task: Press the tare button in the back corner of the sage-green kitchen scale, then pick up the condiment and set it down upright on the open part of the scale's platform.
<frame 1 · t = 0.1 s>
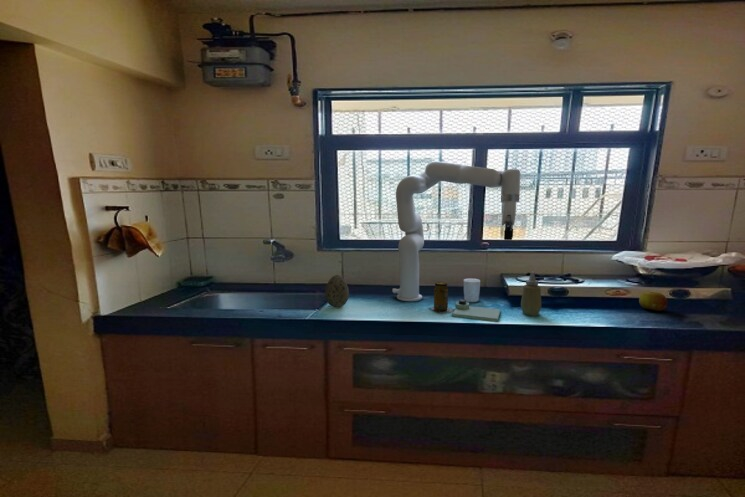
hand: (508, 238, 152), 31 cm above the countertop, tool pointing down, fingers open, 9 cm apart
tare button: (462, 302, 154), point 3 cm above the countertop, slide at 0.1 cm
condiment: (441, 310, 155), on the countertop
scale: (476, 314, 149), on the countertop
fruit: (652, 310, 151), on the countertop
squeeze bottle: (530, 314, 148), on the countertop
white cup: (471, 300, 169), on the countertop
decorative egg: (337, 307, 161), on the countertop
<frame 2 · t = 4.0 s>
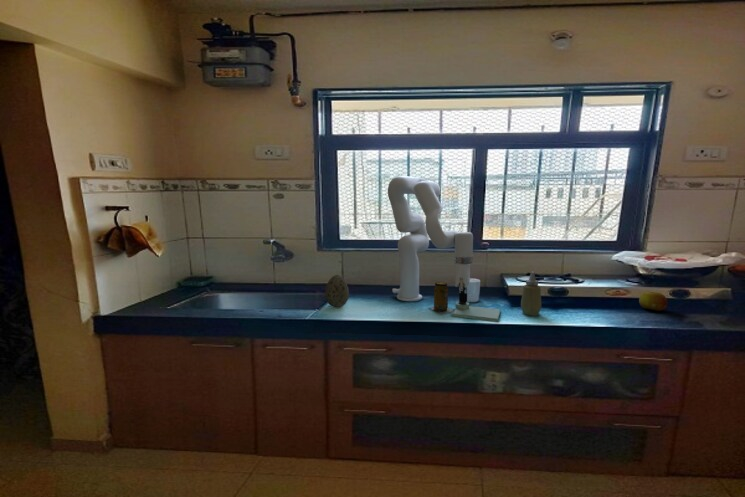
hand: (463, 301, 154), 4 cm above the countertop, tool pointing down, fingers closed
tare button: (462, 303, 154), point 3 cm above the countertop, slide at -0.4 cm, touching gripper
everything else where it was.
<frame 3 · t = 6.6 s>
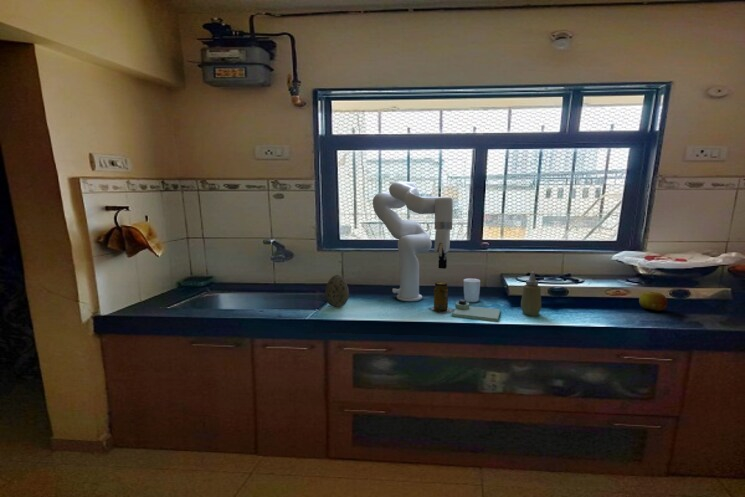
hand: (442, 268, 153), 19 cm above the countertop, tool pointing down, fingers closed
tare button: (462, 302, 154), point 3 cm above the countertop, slide at 0.1 cm
everything else where it was.
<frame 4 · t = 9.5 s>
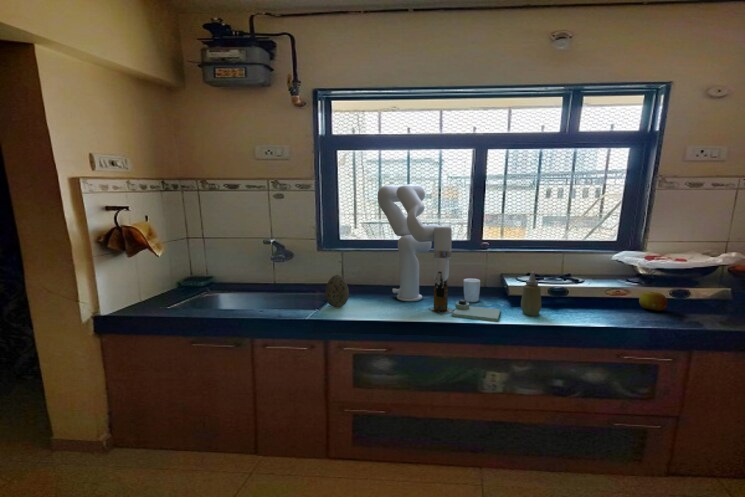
hand: (441, 294, 154), 7 cm above the countertop, tool pointing down, fingers closed on condiment, 6 cm apart
condiment: (441, 310, 154), on the countertop, touching gripper
everything else where it was.
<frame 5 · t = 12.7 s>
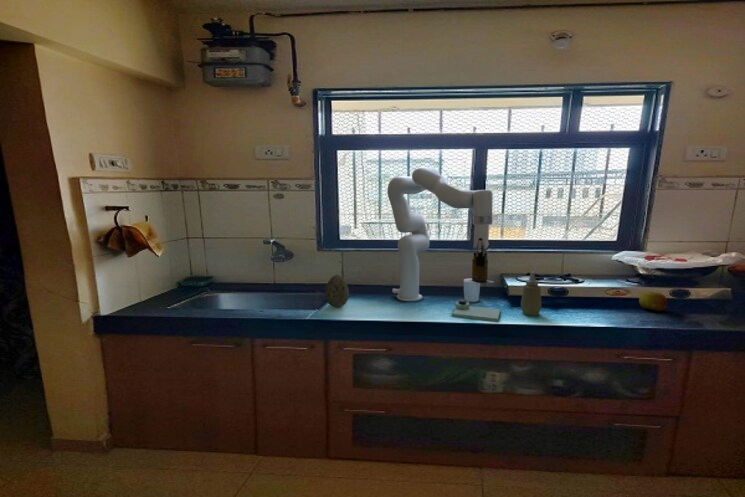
hand: (481, 264, 144), 22 cm above the countertop, tool pointing down, fingers closed on condiment, 6 cm apart
condiment: (480, 281, 144), point 15 cm above the countertop, touching gripper
everything else where it was.
when the fingers open (8 cm above the countertop, at t = 16.4 s): condiment stays where it is, resting on scale.
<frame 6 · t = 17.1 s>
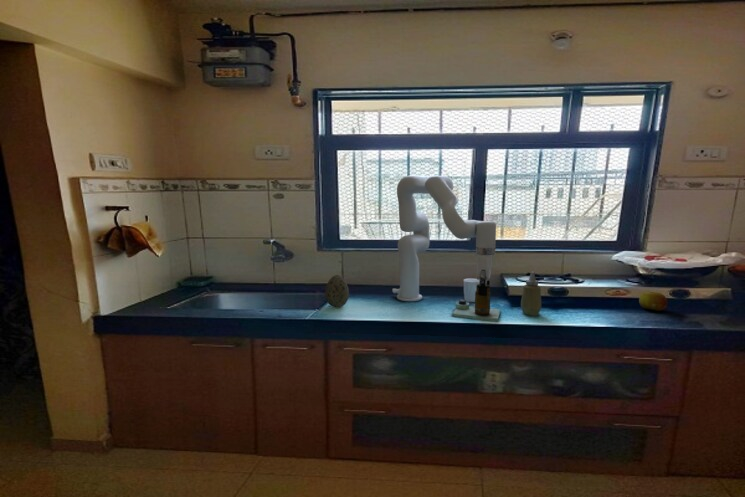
hand: (484, 292, 145), 10 cm above the countertop, tool pointing down, fingers open, 9 cm apart
condiment: (483, 314, 145), point 1 cm above the countertop, touching scale
everything else where it was.
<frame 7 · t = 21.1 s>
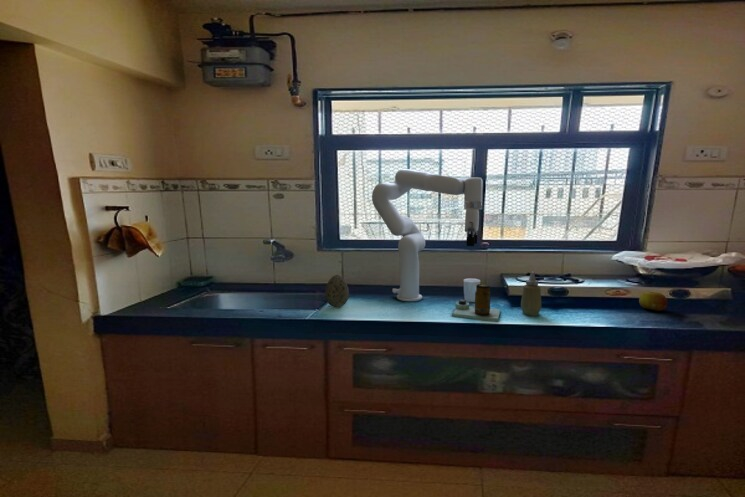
hand: (472, 244, 156), 28 cm above the countertop, tool pointing down, fingers open, 9 cm apart
nothing on the countertop moved.
at the end: tare button pushed in 1.2 cm at the most during the clip and back out by the end; condiment inside the target area on the scale (0.9 cm from its centre), point 1.0 cm above the scale's base; condiment tilted 0° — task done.
